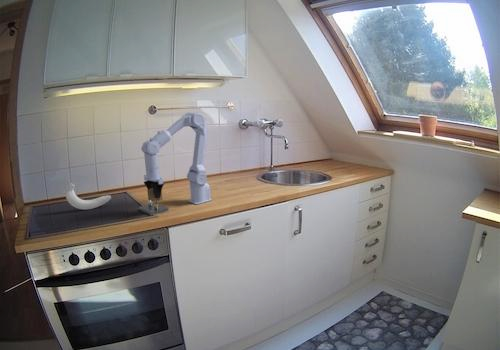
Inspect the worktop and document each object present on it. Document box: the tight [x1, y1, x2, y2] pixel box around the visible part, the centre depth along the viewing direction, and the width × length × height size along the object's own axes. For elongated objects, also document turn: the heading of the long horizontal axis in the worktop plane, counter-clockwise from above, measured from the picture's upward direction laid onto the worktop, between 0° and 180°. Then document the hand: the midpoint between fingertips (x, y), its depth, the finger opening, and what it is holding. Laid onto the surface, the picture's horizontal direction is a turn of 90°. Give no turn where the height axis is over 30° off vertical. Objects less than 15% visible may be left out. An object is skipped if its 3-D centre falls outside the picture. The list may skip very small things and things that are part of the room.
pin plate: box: [138, 199, 170, 216], centre depth 153 cm, size 9×12×4 cm
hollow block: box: [146, 188, 163, 203], centre depth 149 cm, size 5×5×5 cm
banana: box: [65, 182, 112, 211], centre depth 156 cm, size 5×19×15 cm, turn 123°
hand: (155, 196), depth 149 cm, fingers closed on hollow block, 5 cm apart
